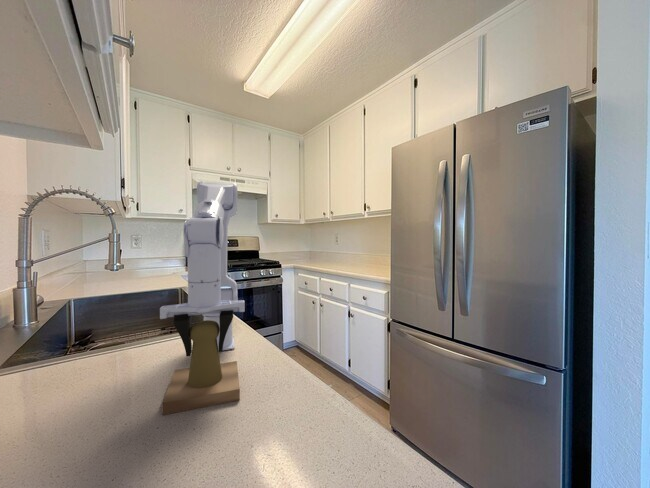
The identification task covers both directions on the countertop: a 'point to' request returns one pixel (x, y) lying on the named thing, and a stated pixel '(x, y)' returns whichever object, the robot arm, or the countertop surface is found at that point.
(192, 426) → the countertop surface
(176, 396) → the walnut base
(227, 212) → the robot arm
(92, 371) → the countertop surface
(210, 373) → the olive tapered knobbed peg
